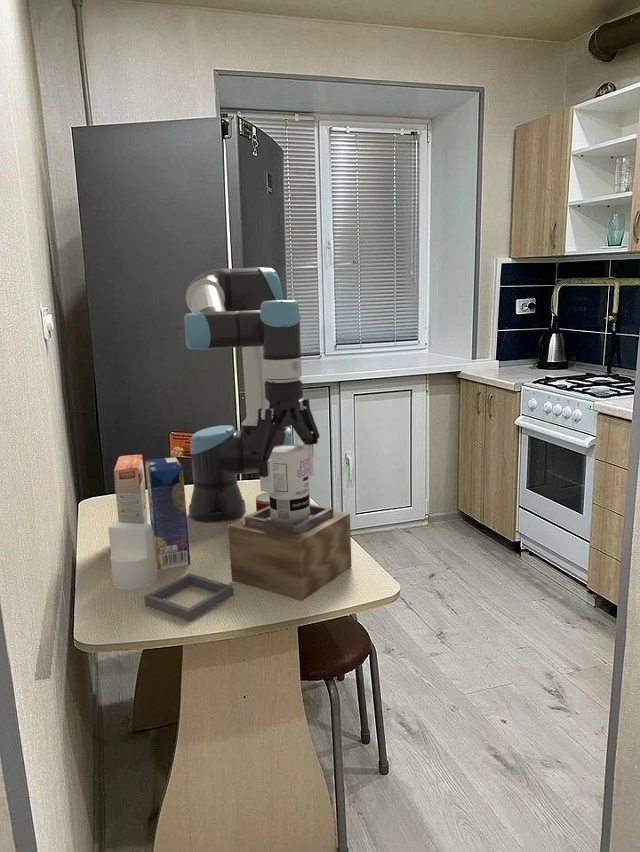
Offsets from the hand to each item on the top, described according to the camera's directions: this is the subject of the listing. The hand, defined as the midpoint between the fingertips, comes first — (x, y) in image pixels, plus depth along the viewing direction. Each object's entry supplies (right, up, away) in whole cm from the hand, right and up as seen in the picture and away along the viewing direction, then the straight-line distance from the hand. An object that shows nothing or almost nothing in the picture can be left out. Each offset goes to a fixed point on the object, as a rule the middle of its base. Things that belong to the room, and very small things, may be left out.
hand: (288, 482), depth 134 cm
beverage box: (-27, -18, +15) cm, 36 cm away
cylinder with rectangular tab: (-32, -21, +4) cm, 39 cm away
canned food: (-4, -16, +23) cm, 28 cm away
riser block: (+1, -19, +4) cm, 20 cm away
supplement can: (0, -8, +2) cm, 8 cm away
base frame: (-19, -22, -7) cm, 30 cm away
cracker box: (-37, -17, +23) cm, 47 cm away
